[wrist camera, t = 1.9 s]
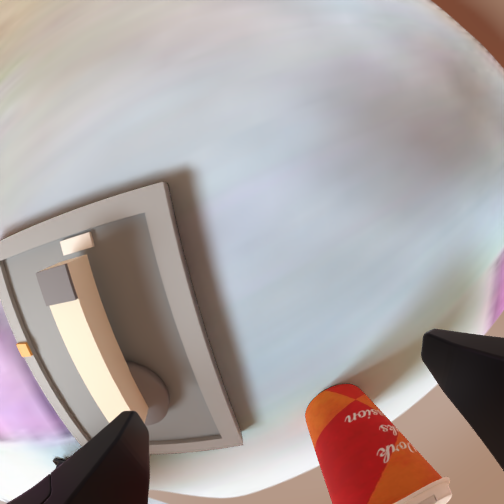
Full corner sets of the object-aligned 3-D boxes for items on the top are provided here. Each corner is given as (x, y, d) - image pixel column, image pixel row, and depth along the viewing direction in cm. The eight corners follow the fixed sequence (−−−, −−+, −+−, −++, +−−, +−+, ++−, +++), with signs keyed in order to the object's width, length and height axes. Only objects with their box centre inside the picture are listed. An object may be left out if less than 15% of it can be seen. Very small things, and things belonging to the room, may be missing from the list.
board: (241, 432, 21) (243, 447, 19) (90, 441, 20) (85, 453, 18) (167, 183, 17) (161, 181, 15) (-3, 244, 16) (-17, 248, 14)
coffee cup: (383, 399, 23) (461, 495, 8) (319, 444, 23) (369, 553, 8) (350, 356, 21) (455, 481, 6) (274, 411, 21) (321, 557, 7)
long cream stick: (180, 414, 19) (176, 448, 15) (117, 419, 18) (106, 449, 14) (115, 245, 16) (90, 256, 12) (47, 265, 15) (17, 278, 12)
